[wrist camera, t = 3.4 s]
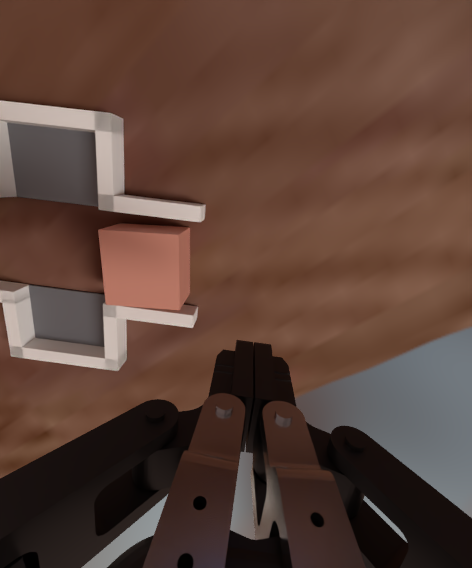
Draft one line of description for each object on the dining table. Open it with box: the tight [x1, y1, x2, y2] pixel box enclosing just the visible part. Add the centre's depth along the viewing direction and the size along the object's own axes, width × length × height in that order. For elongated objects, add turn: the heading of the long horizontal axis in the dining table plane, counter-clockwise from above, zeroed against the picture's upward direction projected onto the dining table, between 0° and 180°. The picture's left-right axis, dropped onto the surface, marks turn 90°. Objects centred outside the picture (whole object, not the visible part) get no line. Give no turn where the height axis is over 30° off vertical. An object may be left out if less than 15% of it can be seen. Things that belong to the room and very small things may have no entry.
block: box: [98, 223, 190, 310], centre depth 24 cm, size 6×6×4 cm
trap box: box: [0, 101, 205, 371], centre depth 24 cm, size 27×22×5 cm
